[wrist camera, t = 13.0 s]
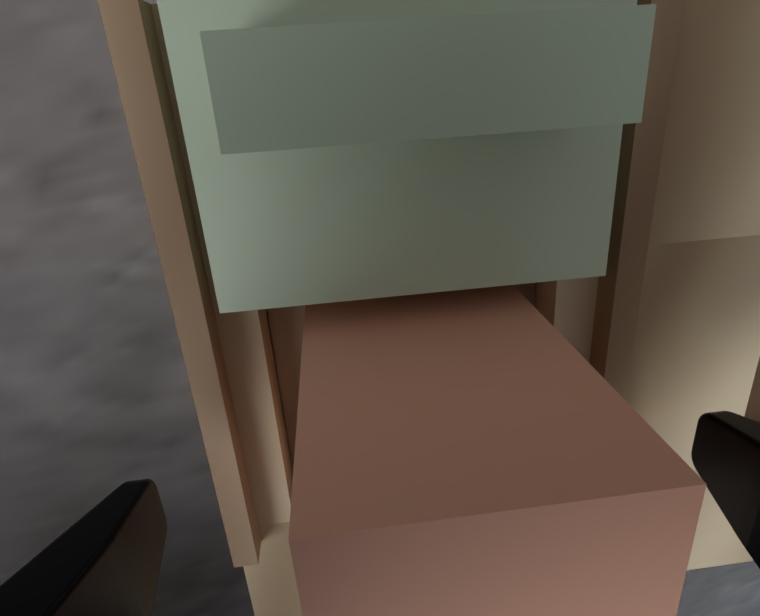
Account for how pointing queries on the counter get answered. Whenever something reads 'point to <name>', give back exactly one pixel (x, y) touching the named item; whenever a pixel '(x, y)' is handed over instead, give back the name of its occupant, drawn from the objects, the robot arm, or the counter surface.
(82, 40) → the counter surface
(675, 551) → the block
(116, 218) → the counter surface
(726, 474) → the robot arm
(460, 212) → the cover
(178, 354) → the counter surface
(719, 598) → the counter surface
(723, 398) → the board
